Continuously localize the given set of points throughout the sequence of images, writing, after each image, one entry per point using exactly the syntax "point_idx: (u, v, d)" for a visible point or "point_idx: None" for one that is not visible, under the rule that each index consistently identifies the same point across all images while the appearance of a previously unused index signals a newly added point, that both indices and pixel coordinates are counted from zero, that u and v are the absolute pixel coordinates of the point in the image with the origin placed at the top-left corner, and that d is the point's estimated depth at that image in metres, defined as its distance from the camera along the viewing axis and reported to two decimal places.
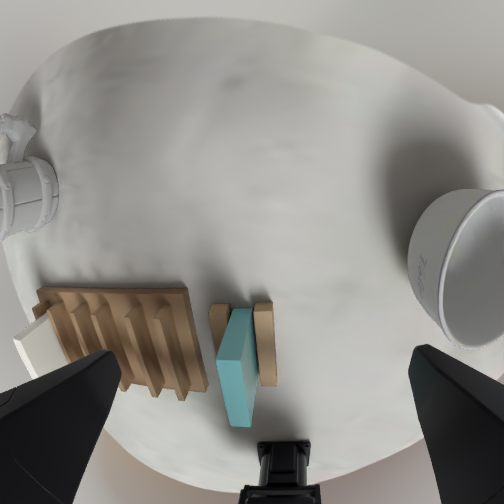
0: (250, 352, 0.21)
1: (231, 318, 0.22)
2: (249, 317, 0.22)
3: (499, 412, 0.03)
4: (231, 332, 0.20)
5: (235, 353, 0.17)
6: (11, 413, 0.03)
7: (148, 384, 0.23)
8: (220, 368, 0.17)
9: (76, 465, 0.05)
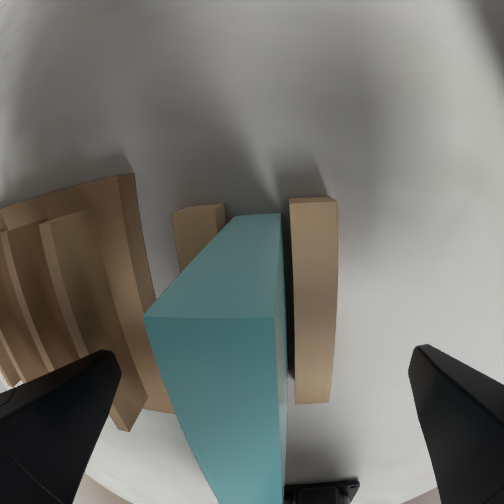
0: None
1: (229, 225, 0.08)
2: (277, 222, 0.08)
3: (499, 412, 0.03)
4: (227, 243, 0.06)
5: (242, 291, 0.04)
6: (11, 413, 0.03)
7: None
8: (168, 361, 0.03)
9: (76, 465, 0.05)
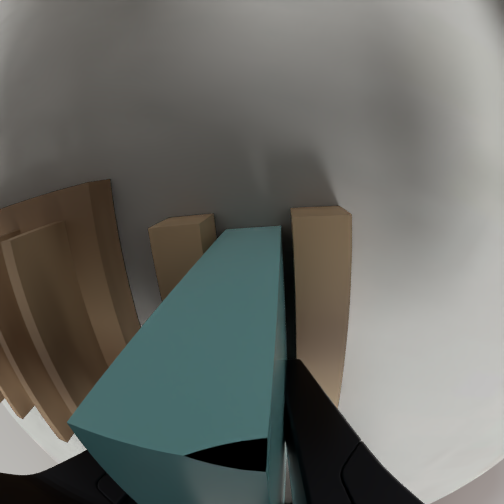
0: (284, 362, 0.06)
1: (217, 244, 0.07)
2: (277, 240, 0.07)
3: (311, 460, 0.03)
4: (208, 277, 0.05)
5: (217, 389, 0.02)
6: None
7: (43, 415, 0.08)
8: (116, 471, 0.02)
9: None
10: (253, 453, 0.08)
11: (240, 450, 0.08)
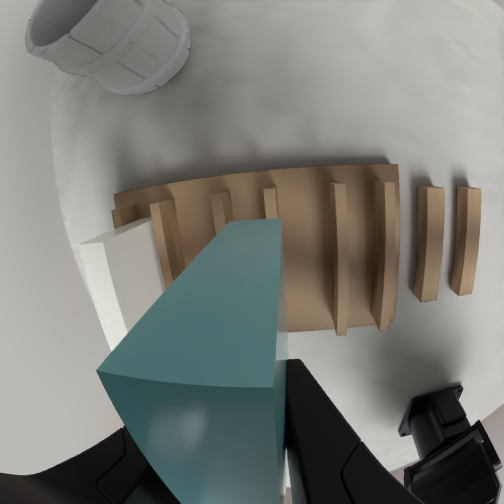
0: (285, 341, 0.06)
1: (222, 233, 0.07)
2: (278, 229, 0.07)
3: (311, 460, 0.03)
4: (218, 258, 0.05)
5: (230, 337, 0.03)
6: (142, 471, 0.03)
7: (340, 311, 0.16)
8: (136, 422, 0.02)
9: None
10: None
11: None
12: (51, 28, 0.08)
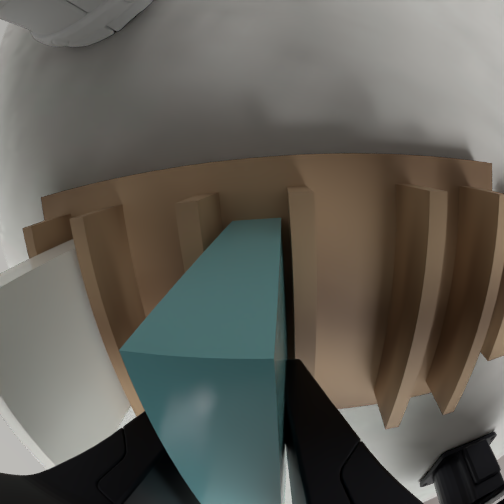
0: None
1: (226, 232, 0.08)
2: (278, 228, 0.08)
3: (311, 460, 0.03)
4: (222, 255, 0.06)
5: (235, 320, 0.03)
6: (142, 471, 0.03)
7: (399, 401, 0.08)
8: (152, 398, 0.03)
9: (194, 503, 0.04)
10: None
11: None
12: None
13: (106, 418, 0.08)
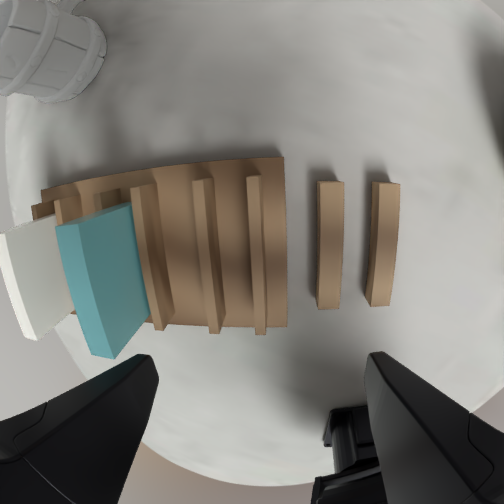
0: (127, 248, 0.15)
1: (114, 206, 0.15)
2: None
3: (442, 435, 0.03)
4: (99, 212, 0.13)
5: (80, 221, 0.11)
6: (47, 434, 0.03)
7: (208, 309, 0.16)
8: (60, 241, 0.11)
9: (114, 481, 0.05)
10: None
11: None
12: None
13: (61, 306, 0.16)
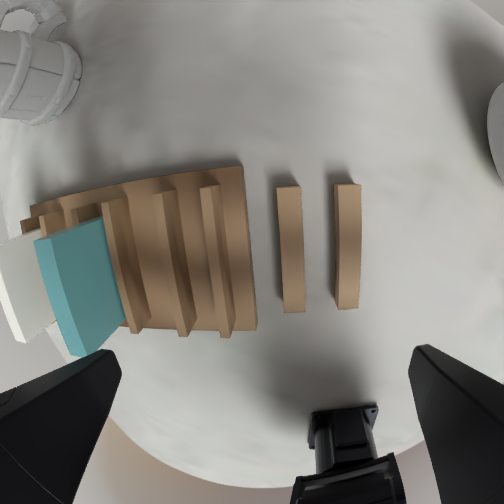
0: (100, 258, 0.15)
1: None
2: None
3: (499, 412, 0.03)
4: (74, 226, 0.14)
5: (54, 235, 0.12)
6: (11, 413, 0.03)
7: (175, 313, 0.17)
8: (38, 253, 0.11)
9: (75, 465, 0.05)
10: None
11: None
12: None
13: (48, 312, 0.17)
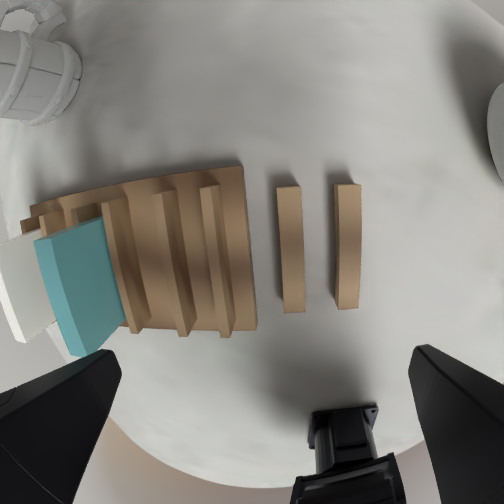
0: (100, 258, 0.15)
1: None
2: None
3: (499, 412, 0.03)
4: (74, 226, 0.14)
5: (54, 235, 0.12)
6: (11, 413, 0.03)
7: (175, 313, 0.17)
8: (38, 253, 0.11)
9: (75, 465, 0.05)
10: None
11: None
12: None
13: (48, 312, 0.17)
